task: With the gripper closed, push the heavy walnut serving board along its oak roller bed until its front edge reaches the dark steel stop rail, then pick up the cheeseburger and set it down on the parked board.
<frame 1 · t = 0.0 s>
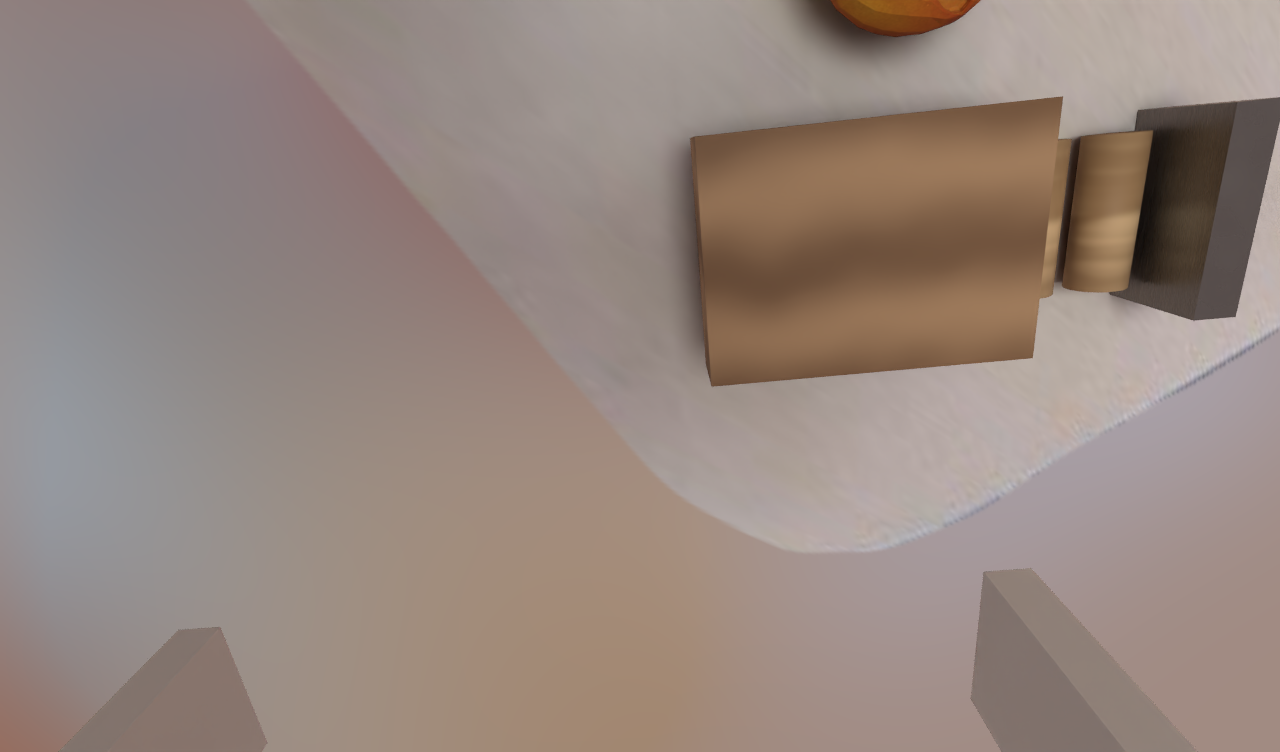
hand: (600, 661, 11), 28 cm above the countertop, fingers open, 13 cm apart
roller bed: (905, 228, 36), on the countertop
board: (861, 247, 31), point 5 cm above the countertop, slide at 0.0 cm
stop rail: (1141, 204, 35), on the countertop
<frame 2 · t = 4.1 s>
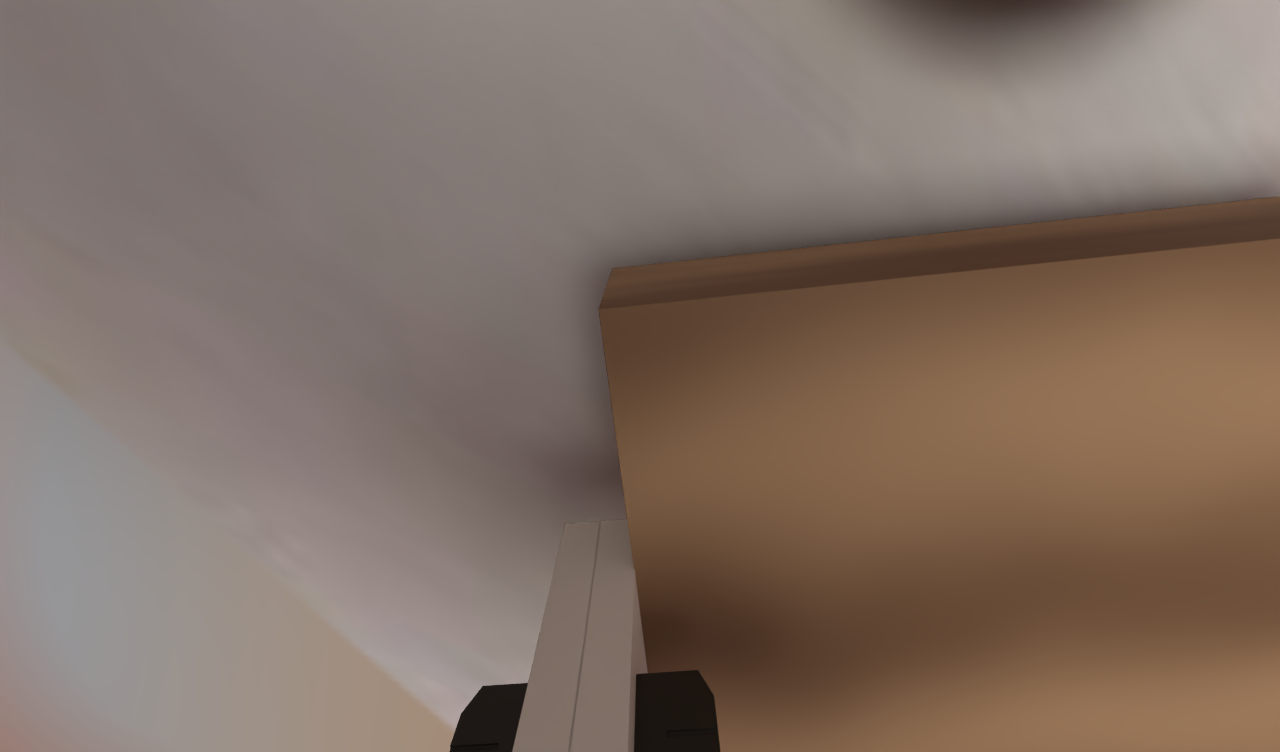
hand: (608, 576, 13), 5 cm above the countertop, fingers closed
board: (1033, 534, 13), point 5 cm above the countertop, slide at 0.9 cm, touching gripper
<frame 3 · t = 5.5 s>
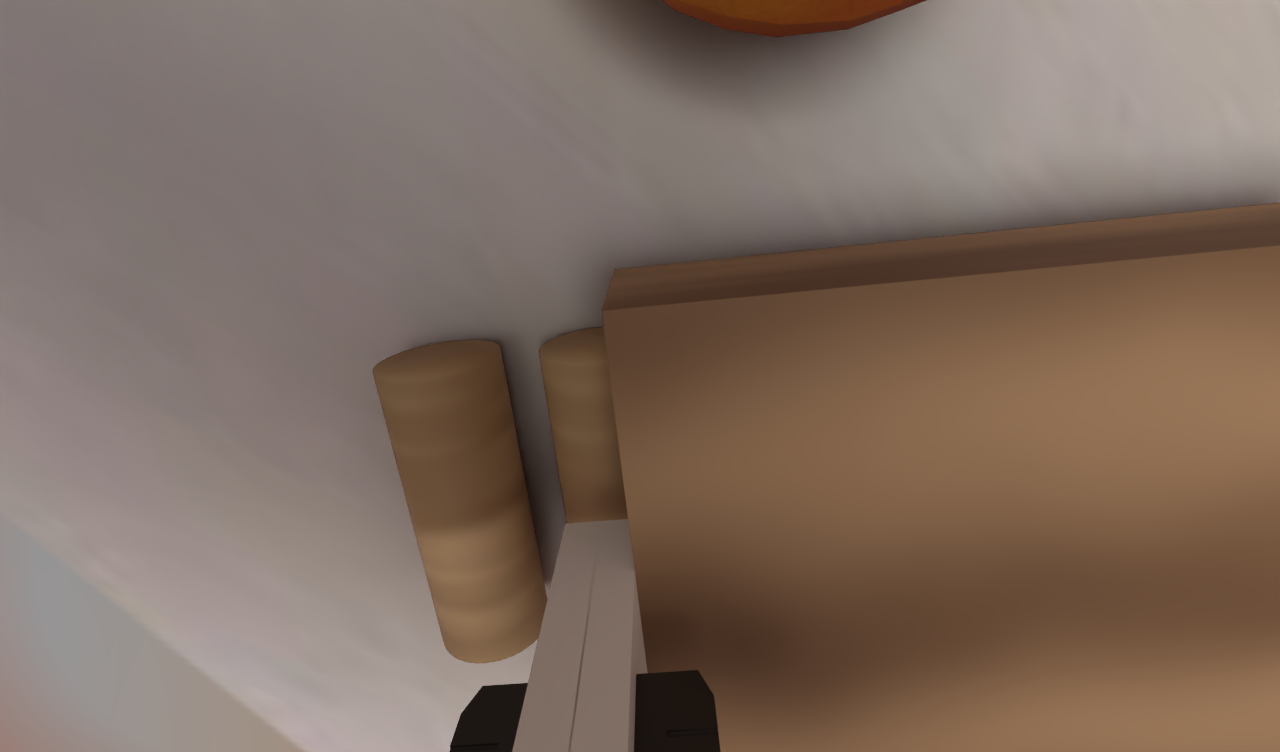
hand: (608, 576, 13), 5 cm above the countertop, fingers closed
roller bed: (836, 443, 17), on the countertop
board: (1034, 538, 13), point 5 cm above the countertop, slide at 6.6 cm, touching gripper
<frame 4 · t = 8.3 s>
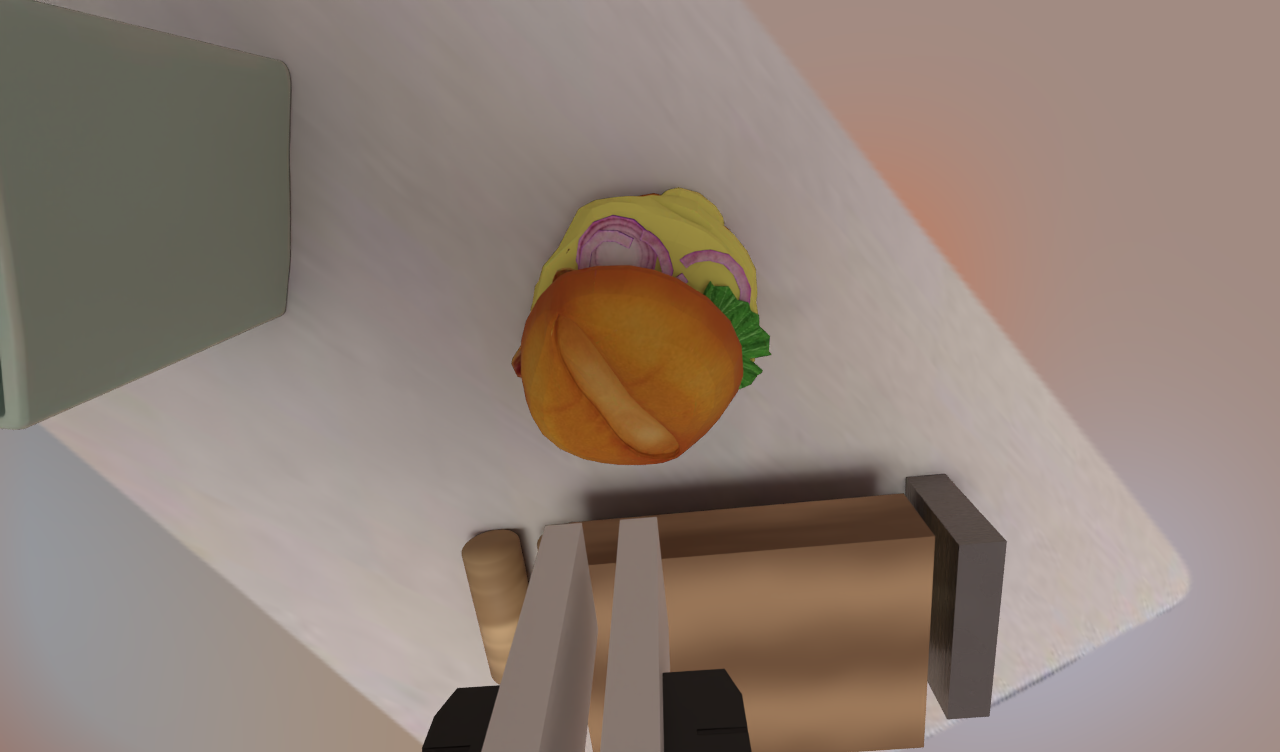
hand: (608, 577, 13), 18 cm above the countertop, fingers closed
roller bed: (685, 575, 35), on the countertop
cheeseburger: (646, 307, 30), on the countertop
planter: (225, 246, 30), on the countertop
board: (745, 634, 30), point 5 cm above the countertop, slide at 6.7 cm
stop rail: (921, 556, 34), on the countertop
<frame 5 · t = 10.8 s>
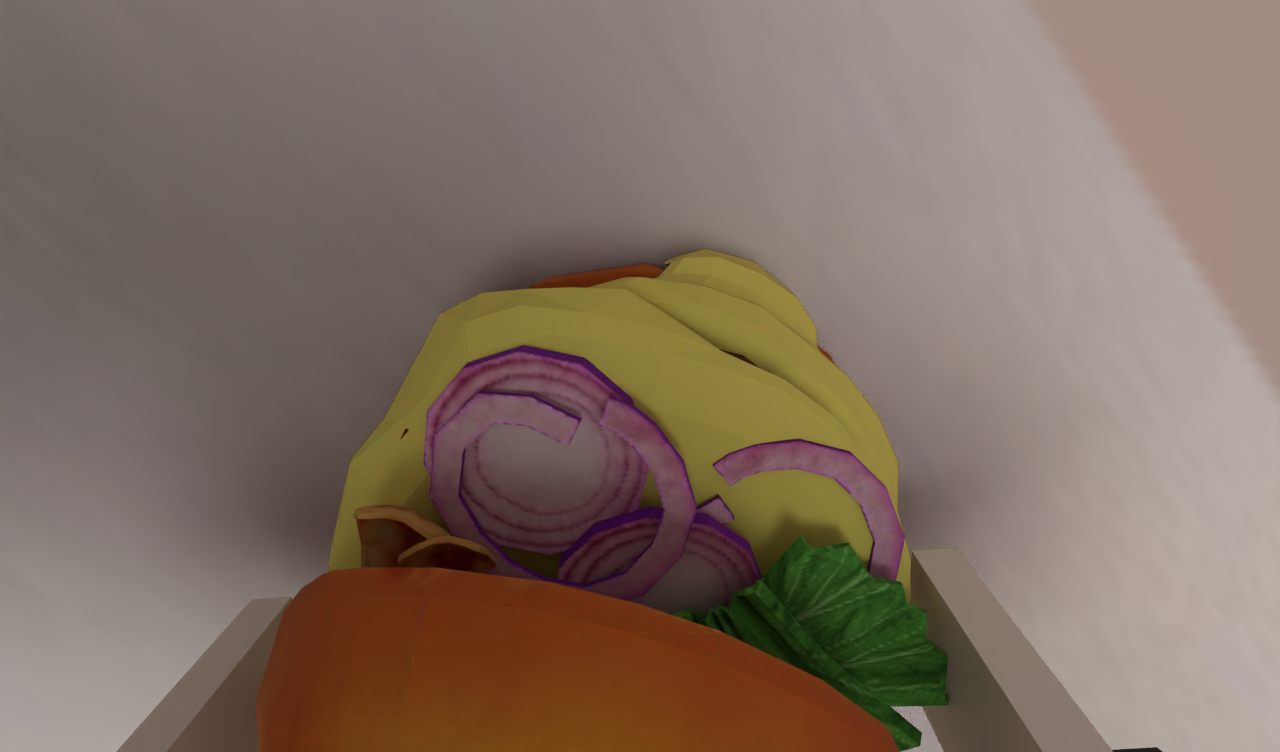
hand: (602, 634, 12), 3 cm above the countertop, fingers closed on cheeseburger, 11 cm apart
cheeseburger: (628, 489, 14), on the countertop, touching gripper
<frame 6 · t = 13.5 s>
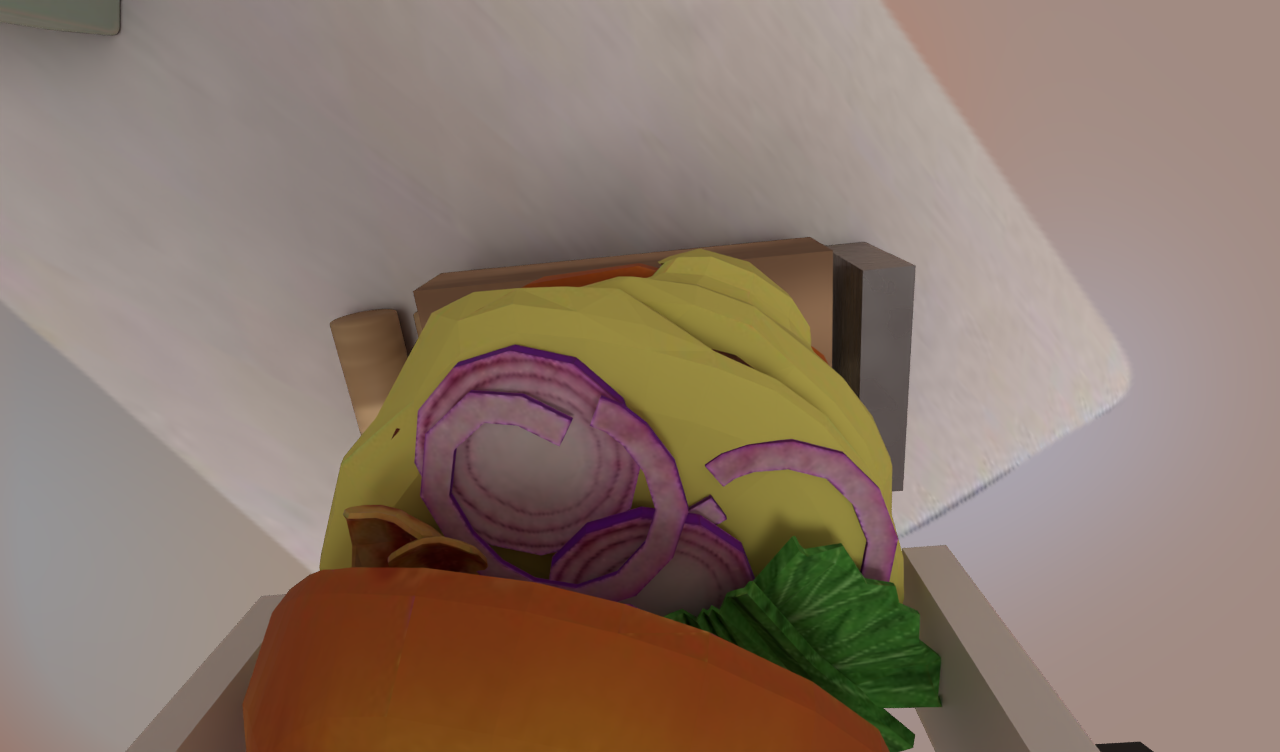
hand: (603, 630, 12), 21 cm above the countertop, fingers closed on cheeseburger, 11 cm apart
roller bed: (586, 366, 32), on the countertop
cheeseburger: (622, 489, 14), point 18 cm above the countertop, touching gripper
board: (636, 398, 27), point 5 cm above the countertop, slide at 6.7 cm
stop rail: (841, 343, 31), on the countertop
when the fingers open (11 cm above the countertop, at t = 15.7 s): cheeseburger drops 1 cm, resting on board.
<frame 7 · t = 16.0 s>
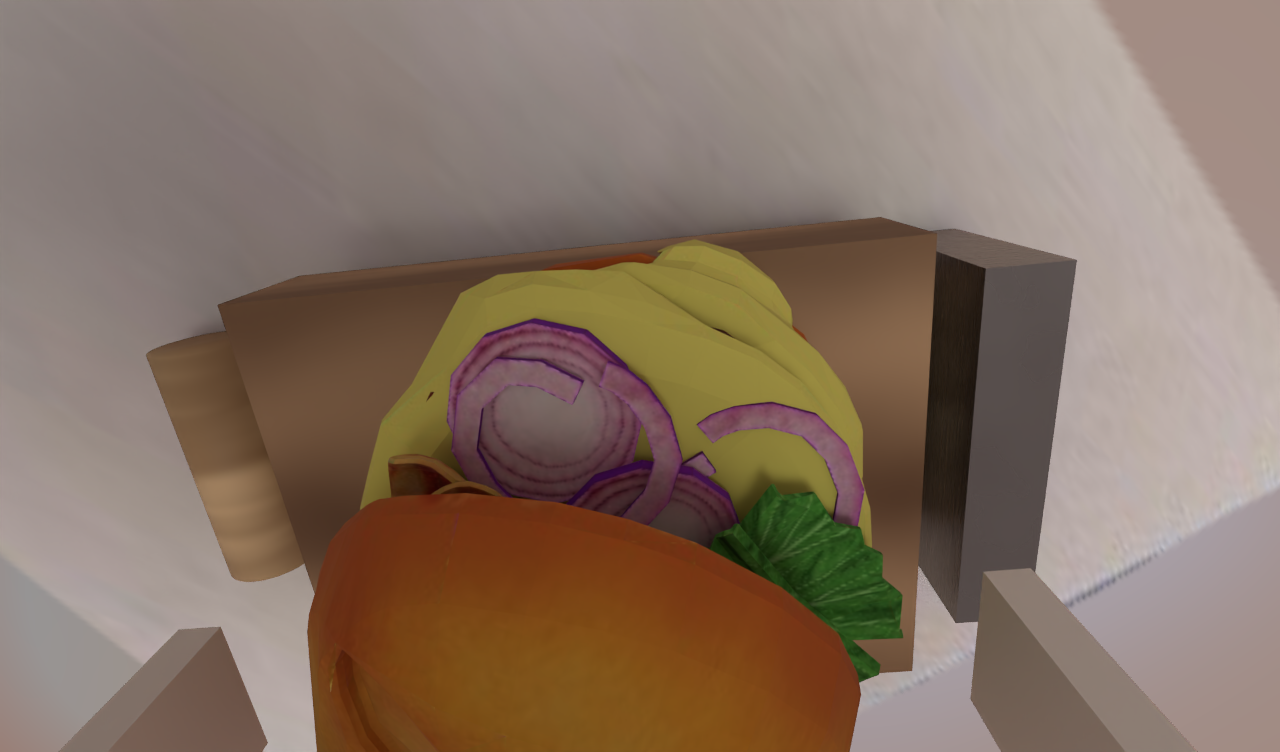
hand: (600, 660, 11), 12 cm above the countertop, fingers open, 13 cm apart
roller bed: (541, 412, 22), on the countertop
cheeseburger: (624, 459, 16), point 6 cm above the countertop, touching board
board: (605, 472, 17), point 5 cm above the countertop, slide at 6.6 cm, touching cheeseburger
stop rail: (915, 379, 21), on the countertop
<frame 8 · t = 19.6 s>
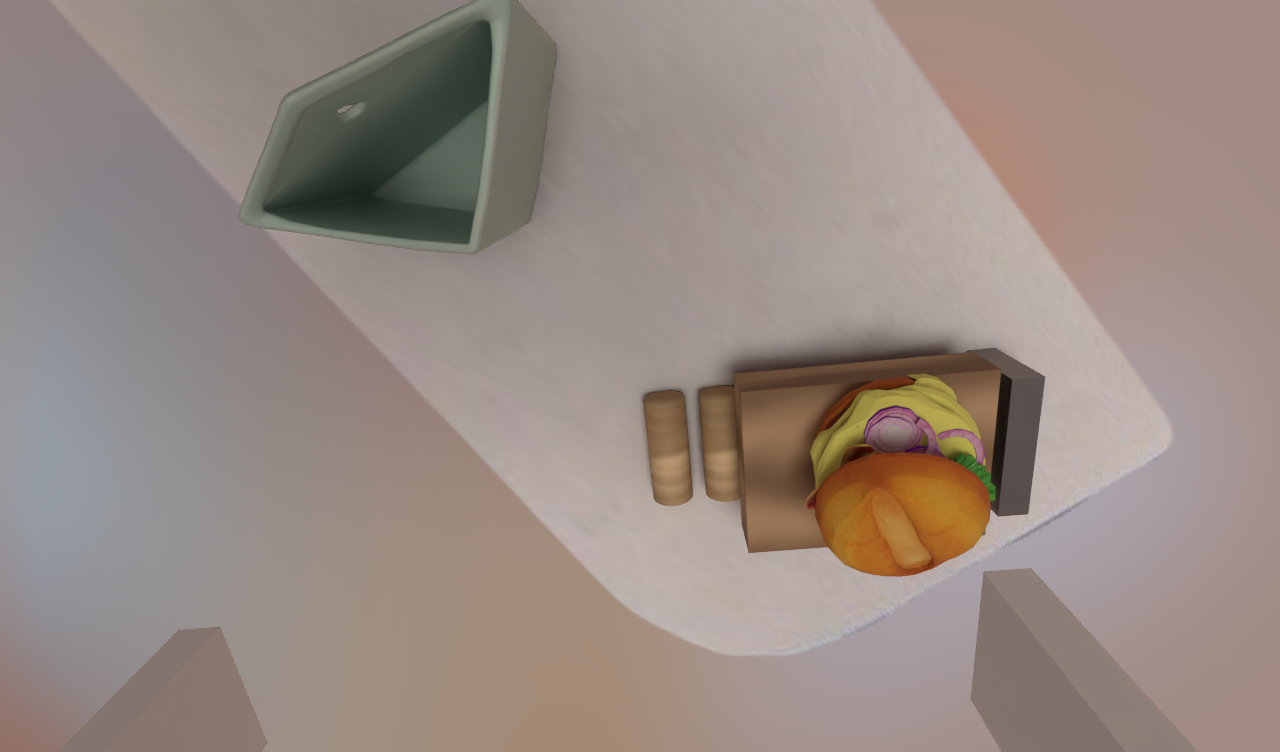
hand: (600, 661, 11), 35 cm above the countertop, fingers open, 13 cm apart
roller bed: (800, 428, 47), on the countertop
cheeseburger: (879, 447, 41), point 6 cm above the countertop, touching board
planter: (491, 172, 42), on the countertop
board: (859, 454, 43), point 5 cm above the countertop, slide at 6.9 cm, touching cheeseburger
stop rail: (975, 413, 47), on the countertop
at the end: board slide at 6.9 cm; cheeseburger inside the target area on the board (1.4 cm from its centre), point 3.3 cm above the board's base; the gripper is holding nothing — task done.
